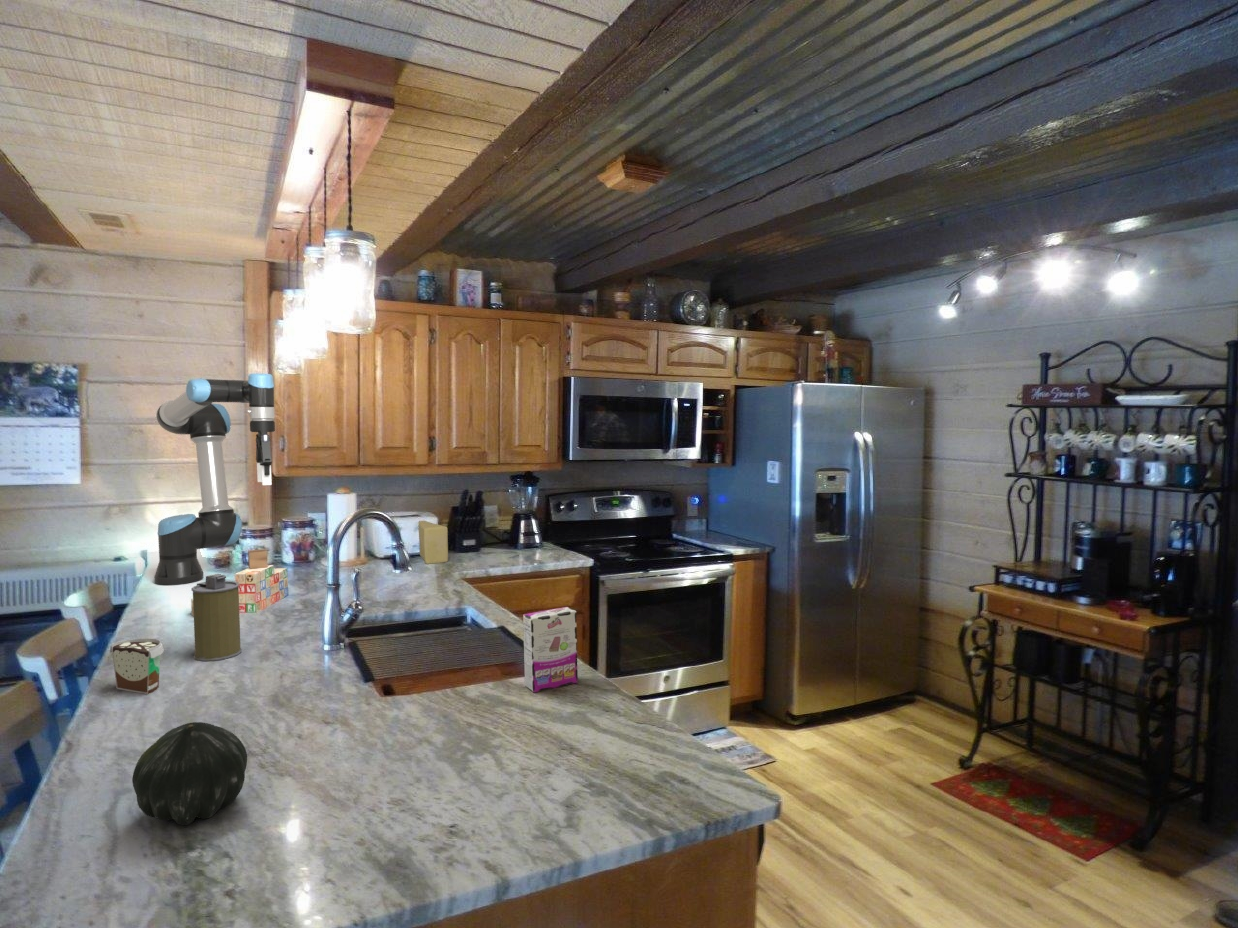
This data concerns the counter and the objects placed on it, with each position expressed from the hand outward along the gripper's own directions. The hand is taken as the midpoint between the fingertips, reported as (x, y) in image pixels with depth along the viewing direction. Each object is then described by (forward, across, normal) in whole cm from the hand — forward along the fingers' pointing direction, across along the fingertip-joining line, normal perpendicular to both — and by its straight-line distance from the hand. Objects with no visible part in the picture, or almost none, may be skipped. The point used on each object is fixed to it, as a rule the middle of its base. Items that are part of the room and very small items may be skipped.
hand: (264, 483), depth 245 cm
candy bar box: (+37, +128, +42) cm, 140 cm away
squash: (+37, +145, -27) cm, 152 cm away
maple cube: (+37, +22, -20) cm, 47 cm away
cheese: (+37, -26, +64) cm, 78 cm away
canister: (+37, +65, -19) cm, 77 cm away
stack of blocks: (+37, +17, -3) cm, 41 cm away
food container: (+37, +81, -34) cm, 95 cm away
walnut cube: (+25, +18, -4) cm, 31 cm away
